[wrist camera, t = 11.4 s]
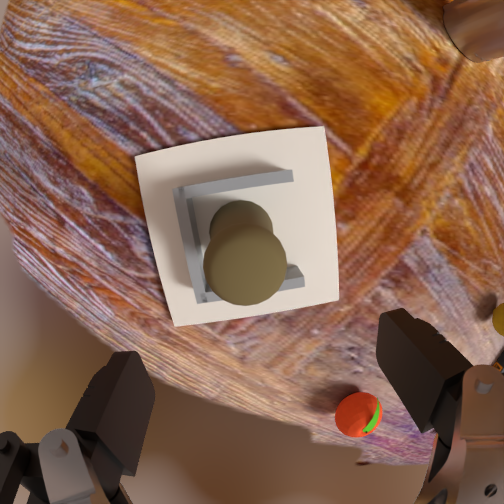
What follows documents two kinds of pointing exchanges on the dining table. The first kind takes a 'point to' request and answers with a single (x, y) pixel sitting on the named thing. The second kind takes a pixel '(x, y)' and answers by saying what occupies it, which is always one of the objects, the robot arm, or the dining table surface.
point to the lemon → (499, 319)
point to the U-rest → (249, 189)
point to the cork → (243, 255)
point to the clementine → (358, 414)
